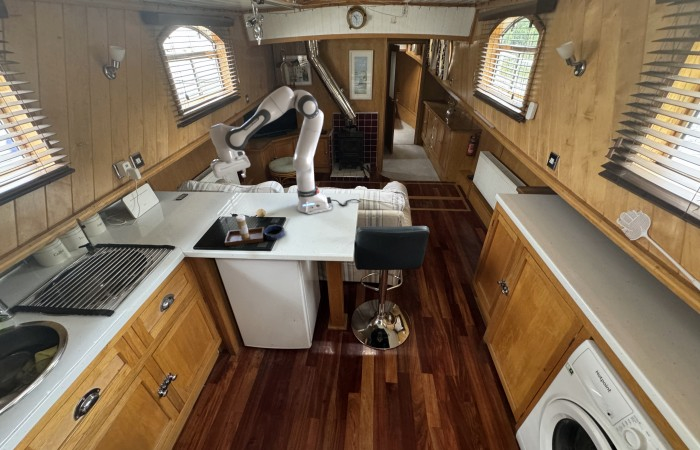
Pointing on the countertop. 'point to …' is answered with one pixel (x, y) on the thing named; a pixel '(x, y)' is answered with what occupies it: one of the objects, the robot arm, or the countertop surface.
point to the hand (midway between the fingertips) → (236, 180)
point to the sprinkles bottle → (242, 226)
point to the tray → (254, 237)
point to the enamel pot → (274, 237)
